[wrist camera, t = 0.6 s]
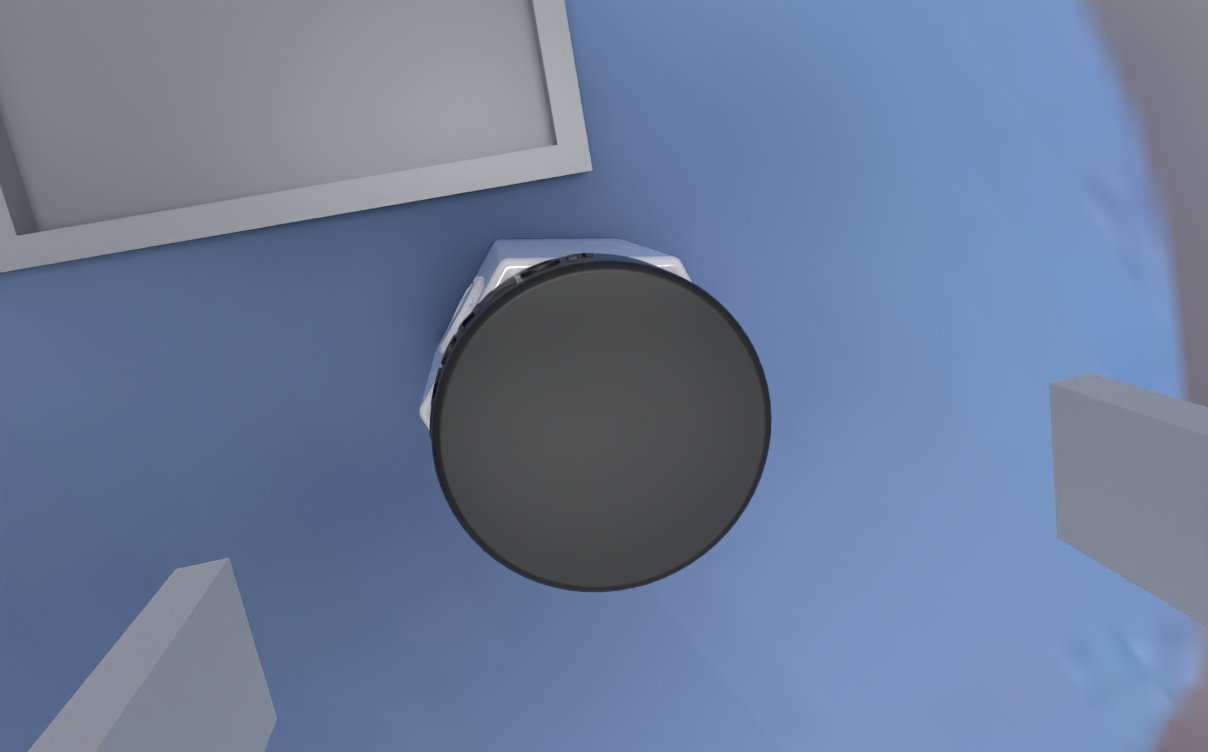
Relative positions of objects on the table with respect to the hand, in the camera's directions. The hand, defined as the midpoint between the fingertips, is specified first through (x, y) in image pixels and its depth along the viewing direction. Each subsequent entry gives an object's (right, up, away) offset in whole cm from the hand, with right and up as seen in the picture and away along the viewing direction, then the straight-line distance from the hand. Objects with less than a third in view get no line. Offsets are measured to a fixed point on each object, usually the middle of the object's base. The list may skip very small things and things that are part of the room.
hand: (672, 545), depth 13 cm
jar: (-3, +4, +18) cm, 19 cm away
